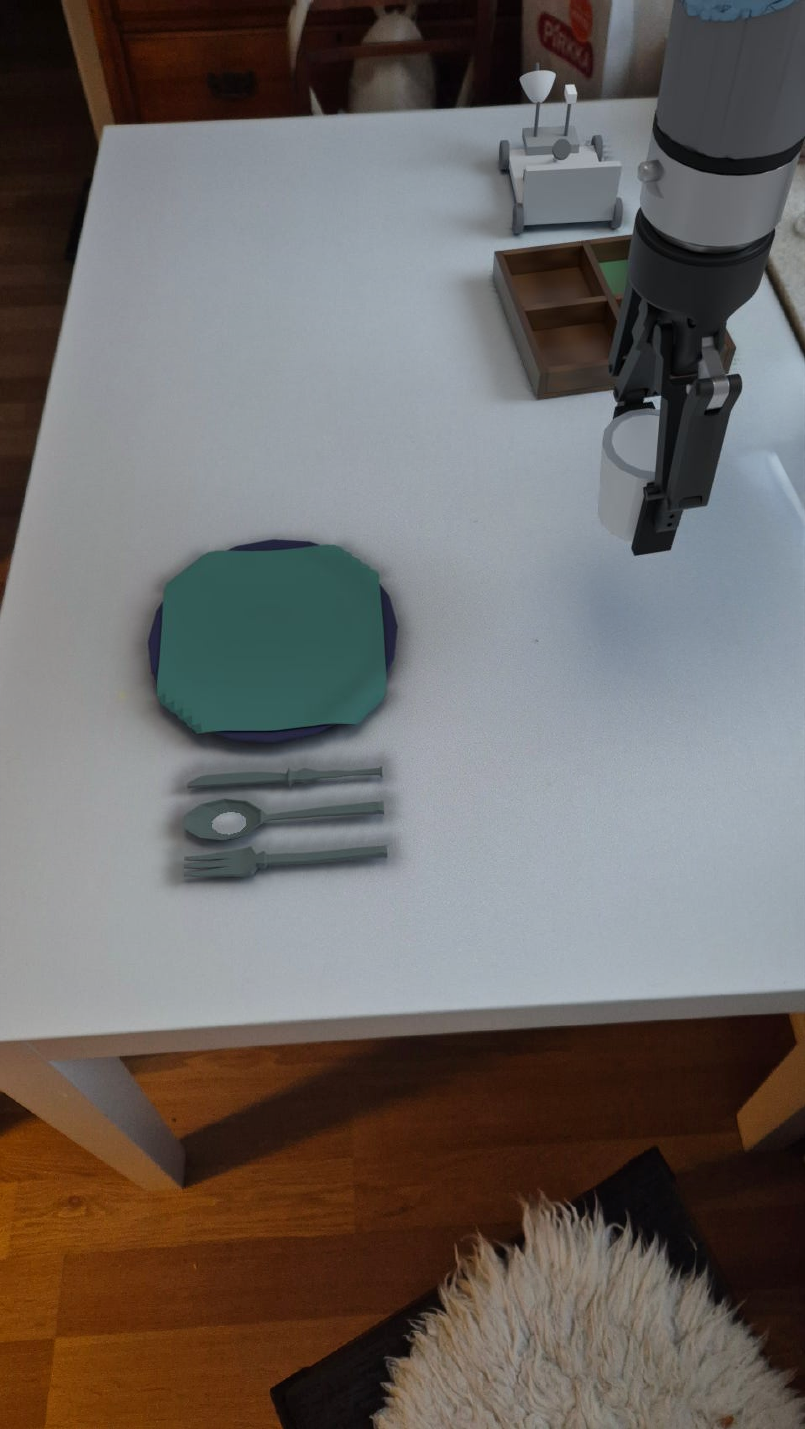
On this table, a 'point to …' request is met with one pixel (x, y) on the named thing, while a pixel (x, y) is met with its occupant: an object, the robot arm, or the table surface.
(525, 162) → the toy rover
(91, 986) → the table surface
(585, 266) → the compartment tray
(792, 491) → the table surface
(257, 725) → the cutlery set
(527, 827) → the table surface
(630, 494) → the white cylinder canister
